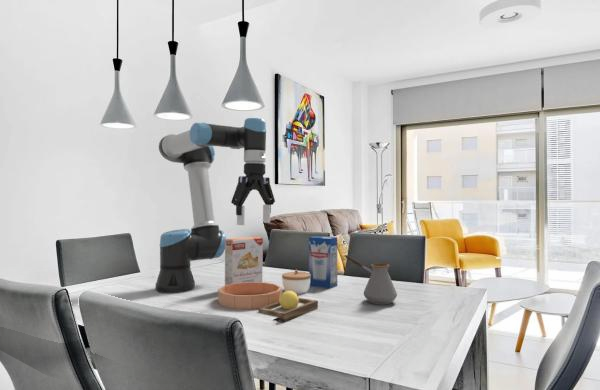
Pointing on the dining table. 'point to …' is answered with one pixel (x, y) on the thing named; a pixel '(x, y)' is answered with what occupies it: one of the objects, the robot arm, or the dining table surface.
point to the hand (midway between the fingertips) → (254, 223)
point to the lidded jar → (296, 281)
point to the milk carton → (323, 261)
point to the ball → (289, 300)
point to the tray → (291, 313)
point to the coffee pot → (378, 284)
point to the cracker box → (243, 260)
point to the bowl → (249, 295)
